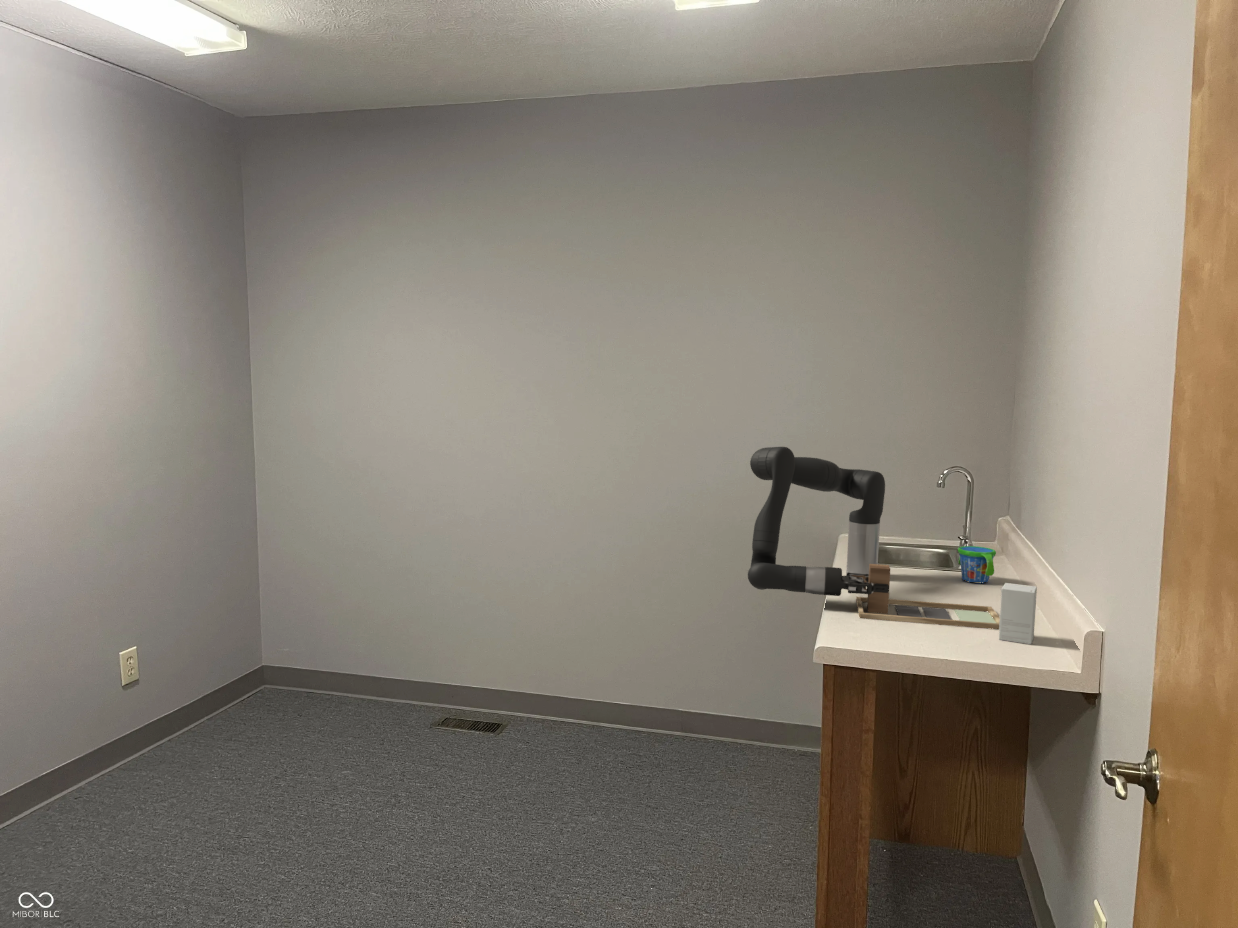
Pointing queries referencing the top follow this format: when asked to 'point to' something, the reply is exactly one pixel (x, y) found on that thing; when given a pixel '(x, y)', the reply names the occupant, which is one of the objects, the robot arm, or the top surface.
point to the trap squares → (928, 612)
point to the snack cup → (976, 563)
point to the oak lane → (931, 620)
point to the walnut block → (878, 600)
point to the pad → (974, 616)
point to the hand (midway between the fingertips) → (887, 585)
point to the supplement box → (1017, 613)
